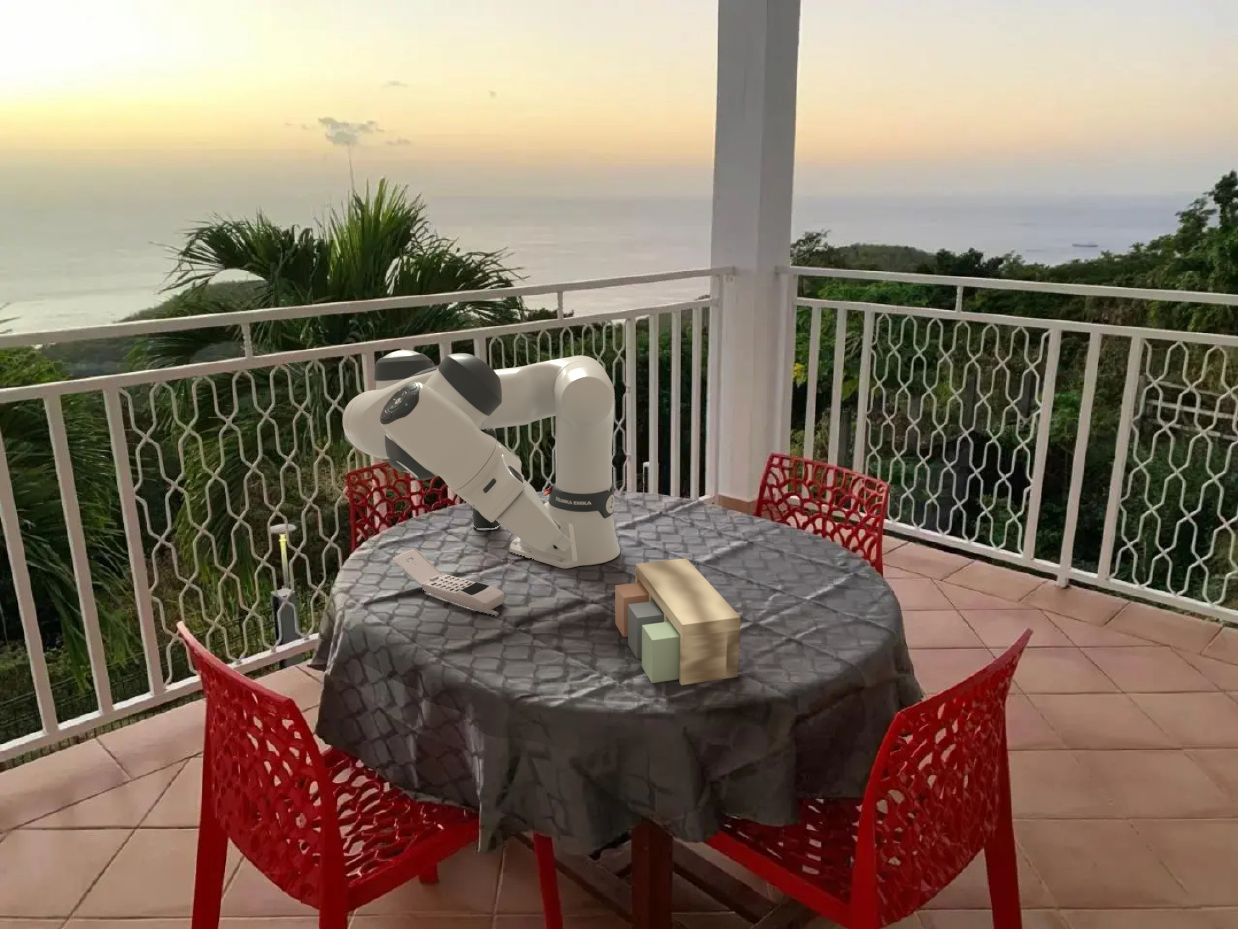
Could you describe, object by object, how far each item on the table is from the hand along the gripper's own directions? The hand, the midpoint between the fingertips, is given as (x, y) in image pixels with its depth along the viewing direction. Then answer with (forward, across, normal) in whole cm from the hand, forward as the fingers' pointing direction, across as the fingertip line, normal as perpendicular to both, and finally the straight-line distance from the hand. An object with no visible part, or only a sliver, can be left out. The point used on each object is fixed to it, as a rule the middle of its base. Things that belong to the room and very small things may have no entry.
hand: (563, 539), depth 126 cm
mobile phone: (+8, -37, -26) cm, 46 cm away
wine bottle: (+15, -70, -18) cm, 74 cm away
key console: (+31, -8, -2) cm, 32 cm away
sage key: (+28, 0, -5) cm, 28 cm away
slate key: (+28, -8, -5) cm, 29 cm away
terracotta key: (+28, -15, -5) cm, 32 cm away
